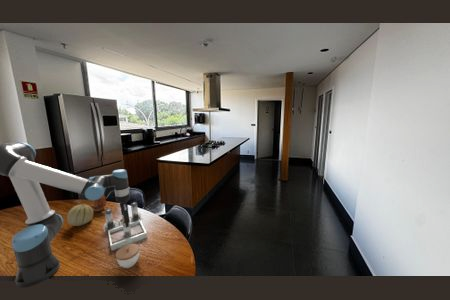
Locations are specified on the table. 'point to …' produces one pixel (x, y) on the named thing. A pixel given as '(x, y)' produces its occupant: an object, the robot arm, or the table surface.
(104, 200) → the mug
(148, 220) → the table surface
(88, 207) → the cantaloupe
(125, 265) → the lidded jar
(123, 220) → the marked fuse
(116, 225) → the fuse holder
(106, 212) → the fuse left
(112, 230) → the tray
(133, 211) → the fuse right
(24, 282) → the robot arm
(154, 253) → the table surface
